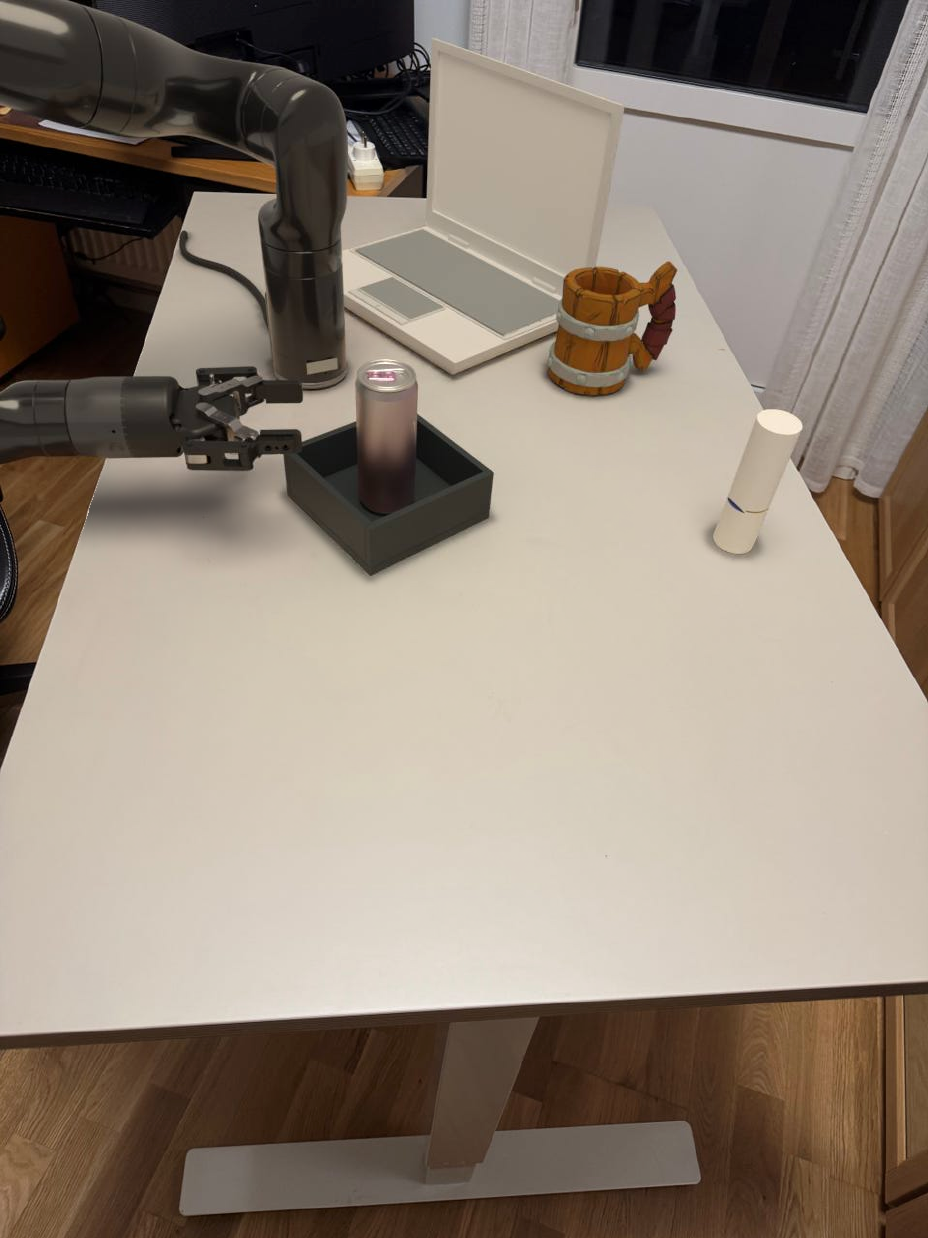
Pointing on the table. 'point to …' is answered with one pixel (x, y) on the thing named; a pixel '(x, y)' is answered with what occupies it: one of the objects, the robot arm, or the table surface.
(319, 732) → the table surface
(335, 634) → the table surface
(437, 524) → the bin
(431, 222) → the laptop
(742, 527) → the tube
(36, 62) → the robot arm
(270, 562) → the table surface
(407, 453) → the beverage can
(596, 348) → the mug
